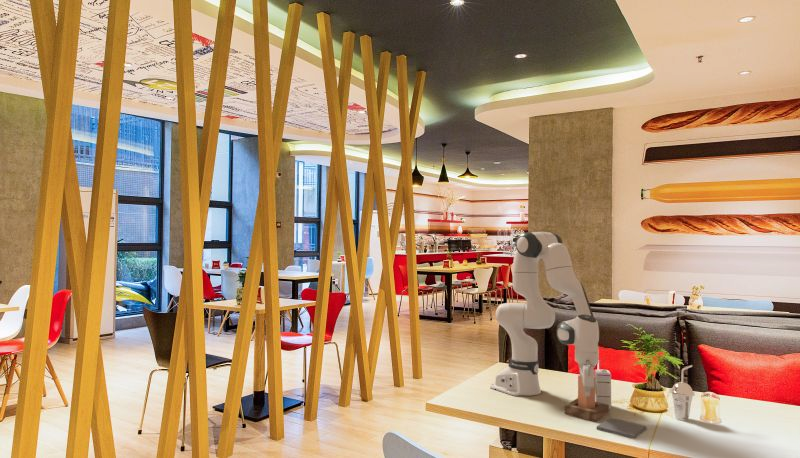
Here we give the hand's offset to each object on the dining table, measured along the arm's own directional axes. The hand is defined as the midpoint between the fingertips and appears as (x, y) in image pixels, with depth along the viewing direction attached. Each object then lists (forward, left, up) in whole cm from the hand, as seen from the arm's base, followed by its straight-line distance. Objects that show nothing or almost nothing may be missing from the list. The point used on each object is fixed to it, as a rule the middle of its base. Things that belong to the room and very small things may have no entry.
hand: (586, 392), depth 215 cm
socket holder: (0, 0, -8) cm, 8 cm away
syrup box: (+1, +13, -8) cm, 15 cm away
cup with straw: (+29, +20, -8) cm, 36 cm away
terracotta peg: (0, 0, -6) cm, 6 cm away
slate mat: (+16, -7, -8) cm, 20 cm away
